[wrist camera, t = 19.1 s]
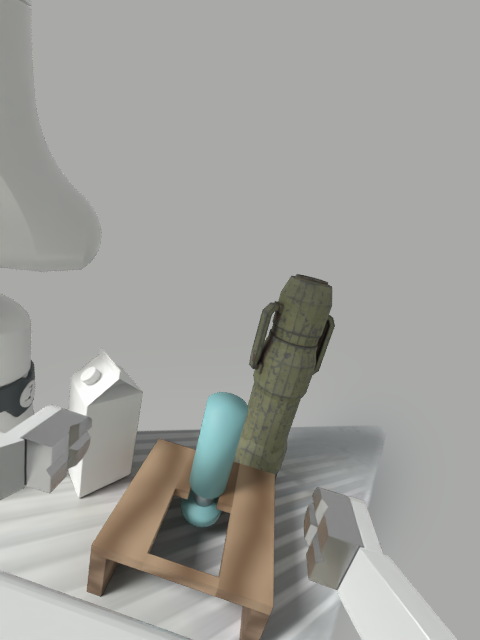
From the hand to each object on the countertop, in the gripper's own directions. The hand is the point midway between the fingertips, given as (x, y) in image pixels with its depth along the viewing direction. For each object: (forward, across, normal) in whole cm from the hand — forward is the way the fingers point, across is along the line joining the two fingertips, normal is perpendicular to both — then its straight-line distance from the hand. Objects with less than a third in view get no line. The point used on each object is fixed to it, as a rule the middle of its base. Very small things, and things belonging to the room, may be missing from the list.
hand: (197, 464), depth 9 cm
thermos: (+32, -7, +30) cm, 45 cm away
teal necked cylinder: (+20, 0, +27) cm, 34 cm away
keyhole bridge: (+17, 0, +30) cm, 34 cm away
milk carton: (+23, +17, +30) cm, 41 cm away
